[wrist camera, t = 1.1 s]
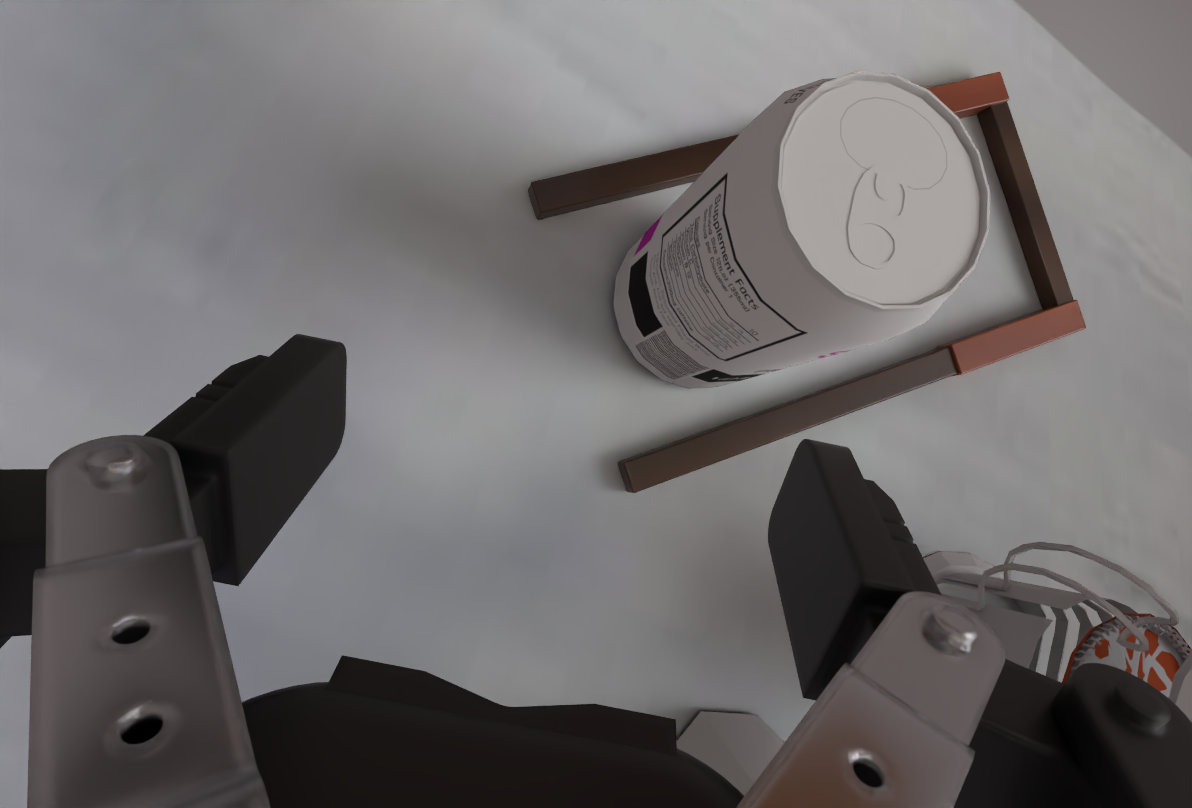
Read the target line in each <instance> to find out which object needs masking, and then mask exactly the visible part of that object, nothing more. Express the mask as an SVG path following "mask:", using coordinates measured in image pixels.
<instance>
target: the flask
mask: <svg viewBox="0 0 1192 808" xmlns="http://www.w3.org/2000/svg"><path fill="white" fill-rule="evenodd" d="M676 744H677V749H680V750H682V751H684V752H686V753H688V754H690V755H691V756H693V757H695V758H697V759H698V760H700V761H702V762H703V763H705V764H707V765H708V766H709V767H711V768H712V769H714V770H715V771H716V772H718V773H719V774H720V775H722V776H723V777H724V778H725V779H727V780H728V781H729V782H730V783H731V784H732V785H733V786H734V787H736V788H737V789H738V790H739V791H740V792H741V793H742V794H743V795H744V796H745V795H746V793H747V792H748V791H749V789H750V788H751V787H752V785H753V784H754V783H755V781H756V780H757V779H758V777H759V776H760V775H761V773H762V772H763V771H764V769H765V768H766V767H767V765H768V764H769V763H770V761H771V760H772V759H773V757H774V756H775V755H776V753H777V752H778V751H779V749H780V748H781V747H782V745H783V744H784V742H783V741H782V740H781V739H780V738H779V737H778V736H777V735H776V734H775V733H774V732H773V730H772V729H771V728H770V727H769V726H768V725H767V724H766V723H765V722H764V721H763V720H762V719H761V718H760V717H759V716H758V715H752V714H736V713H720V712H704V711H701V712H700V713H699V714H698V716H697V717H696V718H695V719H694V721H693V722H692V723H691V724H690V726H689V727H688V728H687V729H686V730H685V732H684V733H683V734H682V735H681V737H680V738H679V739H678V740H677V742H676Z"/></svg>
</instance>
